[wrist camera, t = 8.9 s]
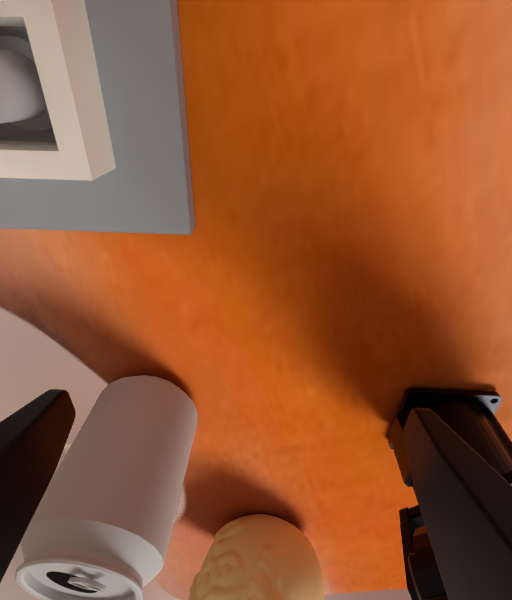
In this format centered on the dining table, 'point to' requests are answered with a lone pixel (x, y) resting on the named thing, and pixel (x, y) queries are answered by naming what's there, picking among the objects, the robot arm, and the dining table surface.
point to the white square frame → (61, 95)
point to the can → (112, 496)
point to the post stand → (121, 122)
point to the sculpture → (259, 563)
